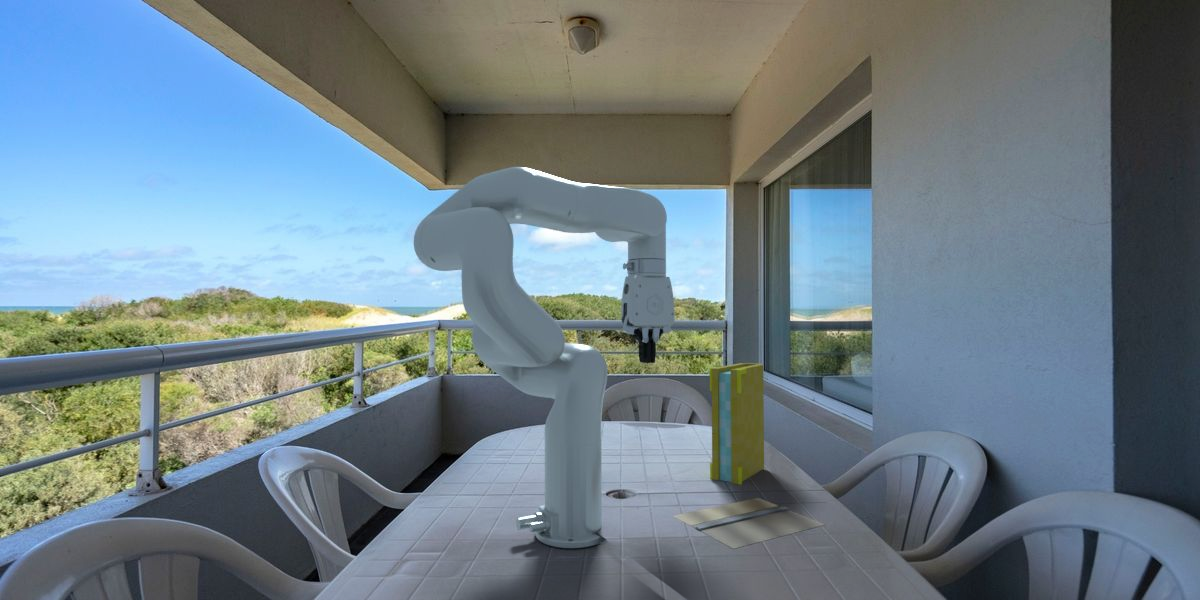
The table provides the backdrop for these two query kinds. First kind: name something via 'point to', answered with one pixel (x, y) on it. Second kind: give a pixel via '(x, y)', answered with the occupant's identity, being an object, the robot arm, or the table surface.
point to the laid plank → (757, 526)
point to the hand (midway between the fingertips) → (647, 362)
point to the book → (737, 421)
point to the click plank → (724, 511)
